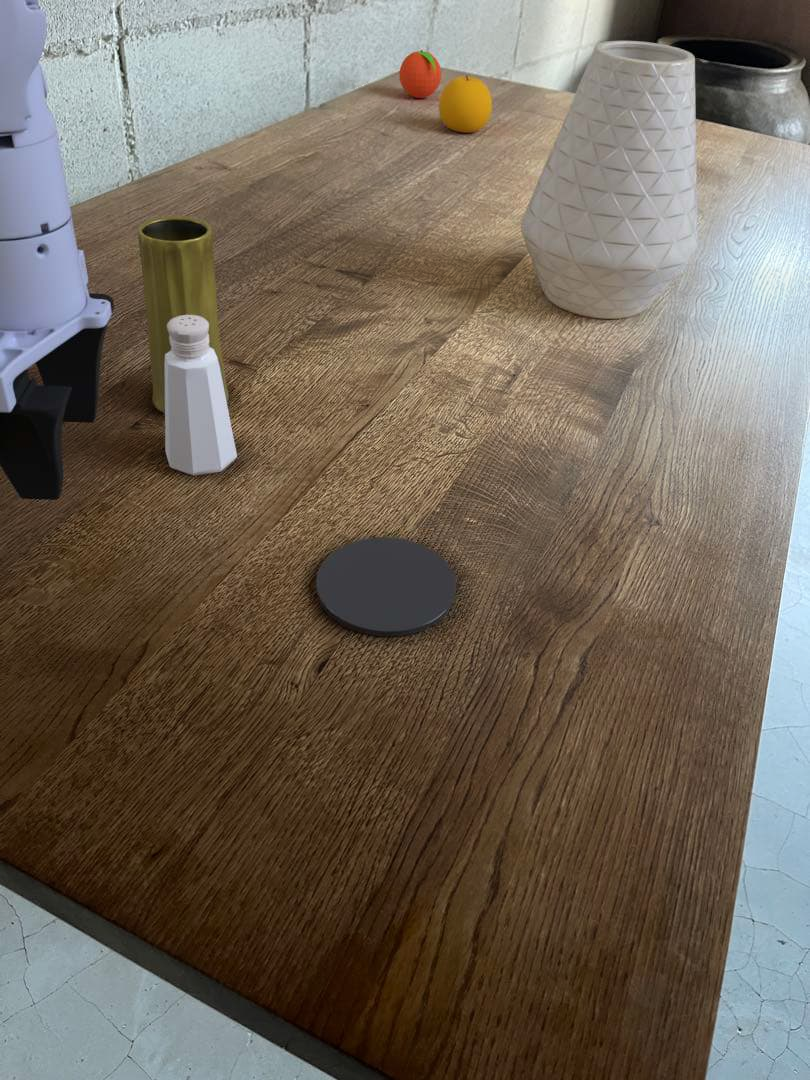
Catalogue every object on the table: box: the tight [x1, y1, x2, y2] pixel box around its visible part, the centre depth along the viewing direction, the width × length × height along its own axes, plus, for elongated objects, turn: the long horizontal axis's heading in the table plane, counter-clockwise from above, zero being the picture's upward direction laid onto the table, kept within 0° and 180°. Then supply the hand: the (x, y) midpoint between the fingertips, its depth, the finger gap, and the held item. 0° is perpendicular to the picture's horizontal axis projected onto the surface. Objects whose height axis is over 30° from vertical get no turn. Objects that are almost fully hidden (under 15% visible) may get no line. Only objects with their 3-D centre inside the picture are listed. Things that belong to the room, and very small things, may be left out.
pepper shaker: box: [164, 315, 238, 477], centre depth 66 cm, size 5×5×11 cm
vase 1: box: [137, 215, 230, 415], centre depth 71 cm, size 6×6×14 cm
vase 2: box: [520, 40, 699, 320], centre depth 89 cm, size 18×17×23 cm
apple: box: [438, 75, 493, 134], centre depth 138 cm, size 8×8×8 cm
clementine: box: [398, 49, 442, 99], centre depth 151 cm, size 8×7×7 cm
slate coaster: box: [315, 536, 457, 638], centre depth 59 cm, size 9×9×1 cm
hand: (60, 455), depth 52 cm, fingers open, 7 cm apart
